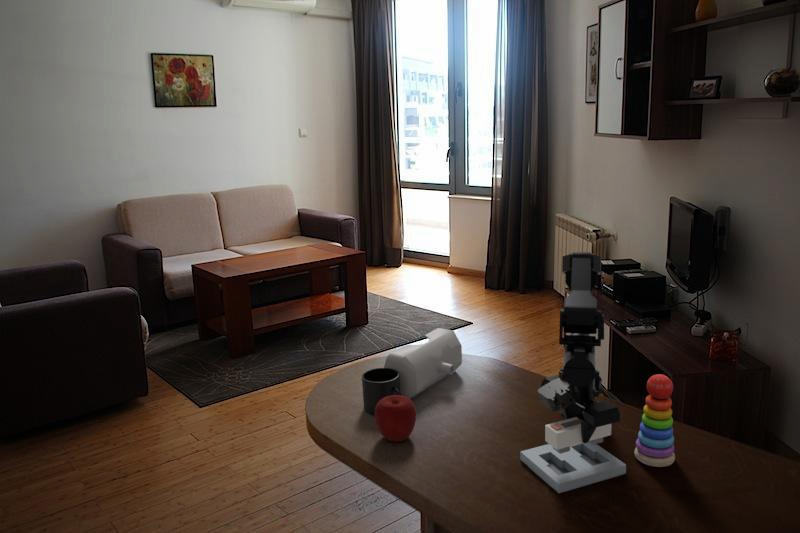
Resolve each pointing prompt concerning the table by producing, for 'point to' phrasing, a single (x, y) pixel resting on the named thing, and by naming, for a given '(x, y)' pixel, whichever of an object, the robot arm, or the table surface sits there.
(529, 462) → the keyhole board
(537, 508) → the table surface
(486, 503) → the table surface
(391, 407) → the apple
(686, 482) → the table surface
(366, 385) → the mug
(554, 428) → the power strip
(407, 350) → the tank
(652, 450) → the stacking toy
